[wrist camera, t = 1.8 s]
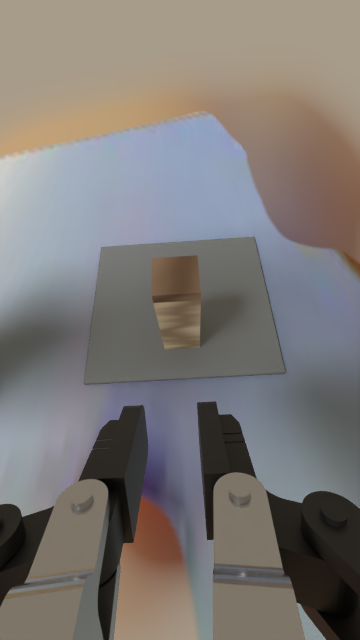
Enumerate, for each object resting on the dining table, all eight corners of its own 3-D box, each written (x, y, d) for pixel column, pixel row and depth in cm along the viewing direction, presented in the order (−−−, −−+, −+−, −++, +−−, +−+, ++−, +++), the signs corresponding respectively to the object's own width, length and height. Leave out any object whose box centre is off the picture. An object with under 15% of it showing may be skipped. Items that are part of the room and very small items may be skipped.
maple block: (164, 349, 36) (151, 295, 26) (164, 319, 38) (152, 258, 28) (199, 347, 36) (200, 292, 26) (197, 317, 38) (197, 255, 28)
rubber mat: (84, 384, 35) (83, 383, 35) (102, 248, 46) (101, 247, 45) (284, 373, 34) (285, 372, 34) (253, 238, 45) (254, 236, 45)
